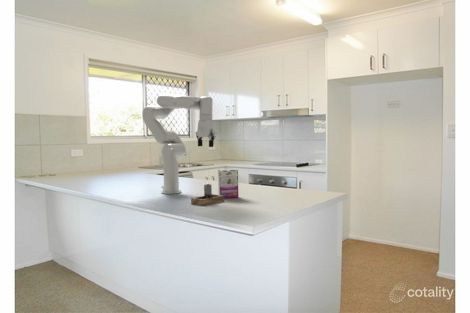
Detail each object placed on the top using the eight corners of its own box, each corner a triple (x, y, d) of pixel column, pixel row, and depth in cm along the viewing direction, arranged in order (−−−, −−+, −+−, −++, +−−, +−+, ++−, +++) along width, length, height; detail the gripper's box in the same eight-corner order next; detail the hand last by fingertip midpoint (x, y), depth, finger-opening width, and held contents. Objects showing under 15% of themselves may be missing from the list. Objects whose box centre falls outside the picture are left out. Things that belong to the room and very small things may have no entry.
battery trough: (191, 203, 184) (191, 198, 183) (212, 199, 196) (212, 194, 196) (202, 205, 178) (202, 200, 178) (224, 200, 190) (224, 195, 190)
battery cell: (202, 201, 187) (202, 183, 186) (208, 200, 190) (207, 183, 189) (207, 202, 184) (207, 184, 184) (213, 201, 187) (212, 183, 187)
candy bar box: (236, 196, 205) (236, 169, 204) (238, 197, 200) (238, 169, 199) (218, 197, 202) (217, 169, 201) (220, 198, 197) (219, 170, 196)
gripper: (191, 117, 207) (191, 146, 208) (211, 117, 195) (210, 147, 196) (200, 118, 212) (200, 145, 213) (220, 118, 200) (220, 147, 202)
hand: (205, 146), depth 205 cm, fingers open, 9 cm apart
